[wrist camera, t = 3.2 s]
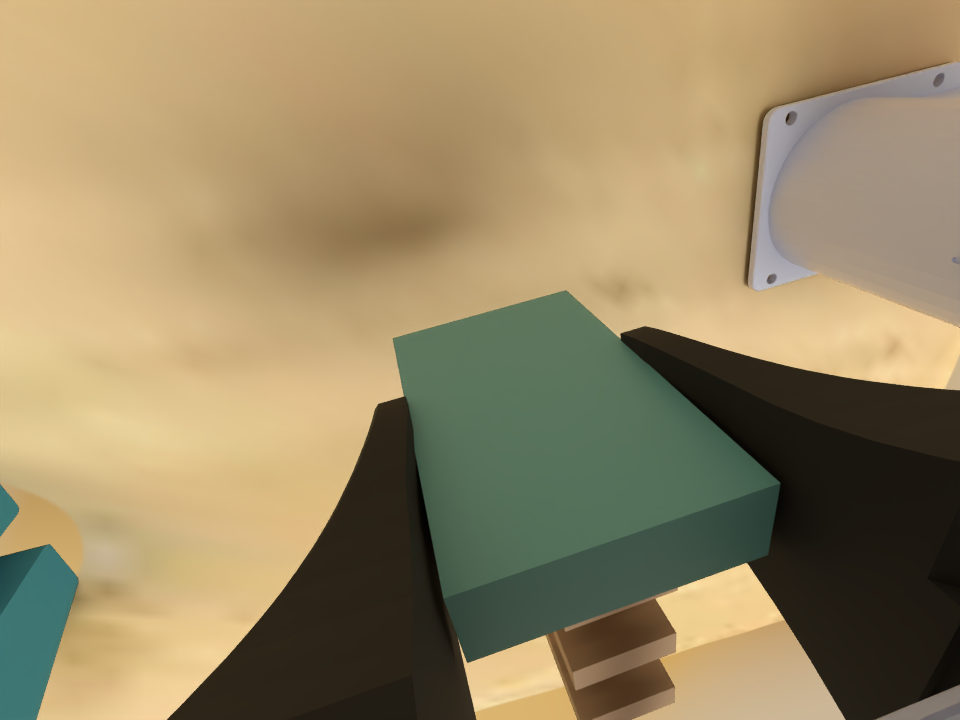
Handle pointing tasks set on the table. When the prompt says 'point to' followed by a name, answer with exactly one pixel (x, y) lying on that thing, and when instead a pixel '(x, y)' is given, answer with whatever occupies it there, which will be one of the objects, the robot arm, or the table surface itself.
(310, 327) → the table surface
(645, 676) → the walnut domino
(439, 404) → the teal domino
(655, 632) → the walnut domino
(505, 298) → the table surface
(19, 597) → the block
